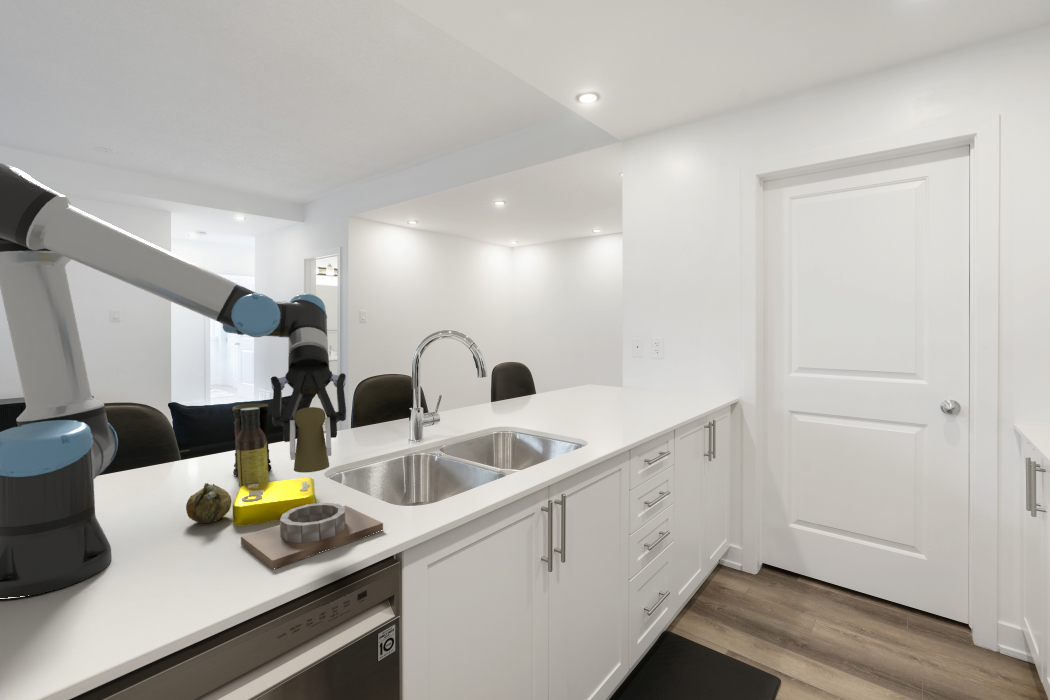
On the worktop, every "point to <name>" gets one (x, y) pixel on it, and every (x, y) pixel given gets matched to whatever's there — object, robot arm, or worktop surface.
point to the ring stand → (309, 533)
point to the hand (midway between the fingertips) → (311, 453)
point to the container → (238, 428)
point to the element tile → (271, 500)
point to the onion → (208, 504)
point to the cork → (310, 441)
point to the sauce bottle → (251, 449)
